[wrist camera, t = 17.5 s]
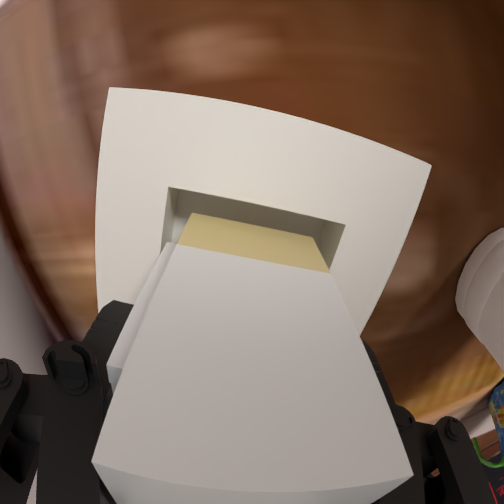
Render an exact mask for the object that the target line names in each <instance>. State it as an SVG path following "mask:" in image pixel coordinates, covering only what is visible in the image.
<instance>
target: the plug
mask: <svg viewBox="0 0 504 504" xmlns="http://www.w3.org/2000/svg"><path fill="white" fill-rule="evenodd" d="M91 462H92V464H93V466H94V467H95V469H96V471H97V473H98V474H99V476H100V478H101V479H102V481H103V483H104V484H105V486H106V488H107V489H108V491H109V492H110V494H111V495H112V497H113V499H114V500H115V502H116V503H117V504H371V503H373V502H375V501H376V500H378V499H379V498H381V497H383V496H384V495H386V494H387V493H389V492H390V491H392V490H393V489H395V488H396V487H398V486H399V485H401V484H402V483H404V482H405V481H406V480H408V479H409V478H411V477H412V476H413V472H412V469H411V466H410V463H409V460H408V457H407V454H406V451H405V449H404V446H403V443H402V440H401V437H400V435H399V432H398V429H397V427H396V424H395V421H394V419H393V416H392V413H391V411H390V408H389V406H388V403H387V401H386V398H385V395H384V393H383V390H382V388H381V386H380V383H379V381H378V378H377V376H376V373H375V371H374V368H373V366H372V364H371V361H370V359H369V357H368V354H367V352H366V350H365V347H364V345H363V343H362V340H361V338H360V336H359V334H358V331H357V329H356V327H355V325H354V322H353V320H352V318H351V316H350V314H349V311H348V309H347V307H346V305H345V303H344V301H343V298H342V296H341V294H340V292H339V290H338V288H337V286H336V284H335V282H334V279H333V277H332V275H331V273H330V271H329V269H328V267H327V265H326V263H325V261H324V259H323V257H322V255H321V253H320V251H319V249H318V247H317V245H316V243H315V241H314V239H313V237H309V236H304V235H300V234H295V233H290V232H286V231H281V230H276V229H271V228H266V227H262V226H257V225H252V224H247V223H242V222H237V221H232V220H227V219H222V218H217V217H212V216H207V215H201V214H196V213H192V214H191V216H190V218H189V220H188V222H187V224H186V226H185V228H184V230H183V232H182V234H181V236H180V238H179V240H178V242H177V244H176V246H175V249H174V251H173V253H172V255H171V257H170V259H169V261H168V263H167V266H166V268H165V270H164V272H163V274H162V277H161V279H160V281H159V283H158V285H157V288H156V290H155V292H154V294H153V297H152V299H151V301H150V304H149V306H148V308H147V311H146V313H145V315H144V318H143V320H142V322H141V325H140V327H139V330H138V332H137V335H136V337H135V340H134V342H133V345H132V347H131V350H130V352H129V355H128V357H127V360H126V362H125V365H124V368H123V370H122V373H121V375H120V378H119V381H118V384H117V386H116V389H115V392H114V395H113V397H112V400H111V403H110V406H109V409H108V412H107V414H106V417H105V420H104V423H103V426H102V429H101V432H100V436H99V439H98V442H97V445H96V448H95V451H94V455H93V458H92V461H91Z"/></svg>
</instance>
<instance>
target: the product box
mask: <svg viewBox="0 0 504 504" xmlns="http://www.w3.org/2000/svg"><path fill="white" fill-rule="evenodd" d="M501 460H502V457H501V453H500V454H499V455H497V456H495V457H493V458H491V459H489V460H487V461H489V462H491V463H497V464H498V463H499V462H500V461H501ZM482 467H483V469H484V472H485V474H486V477H487V479H488V482H489V484H490V487H491V489H492V492H493V495H494V498H495V500H496V503H497V504H504V466H502V467H497V468H492V467H488V466H486V465H485V464H483V463H482Z"/></svg>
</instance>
